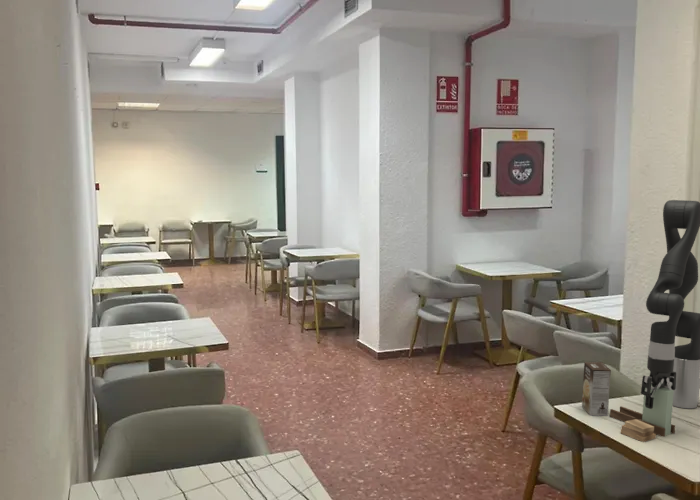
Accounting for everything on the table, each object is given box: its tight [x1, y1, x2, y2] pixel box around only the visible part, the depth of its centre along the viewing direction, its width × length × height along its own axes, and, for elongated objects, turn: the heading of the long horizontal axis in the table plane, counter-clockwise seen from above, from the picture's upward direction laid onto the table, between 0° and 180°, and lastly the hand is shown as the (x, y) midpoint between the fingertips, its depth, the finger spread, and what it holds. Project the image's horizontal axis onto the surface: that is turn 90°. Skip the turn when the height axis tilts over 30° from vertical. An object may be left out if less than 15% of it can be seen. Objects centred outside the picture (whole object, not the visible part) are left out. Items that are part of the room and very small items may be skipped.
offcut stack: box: [620, 419, 657, 443], centre depth 206 cm, size 6×8×4 cm
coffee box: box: [581, 361, 612, 417], centre depth 227 cm, size 9×6×16 cm
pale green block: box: [642, 384, 674, 436], centre depth 210 cm, size 3×8×14 cm, turn 31°
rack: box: [609, 406, 676, 438], centre depth 216 cm, size 6×20×2 cm, turn 31°
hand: (657, 405), depth 210 cm, fingers open, 8 cm apart
